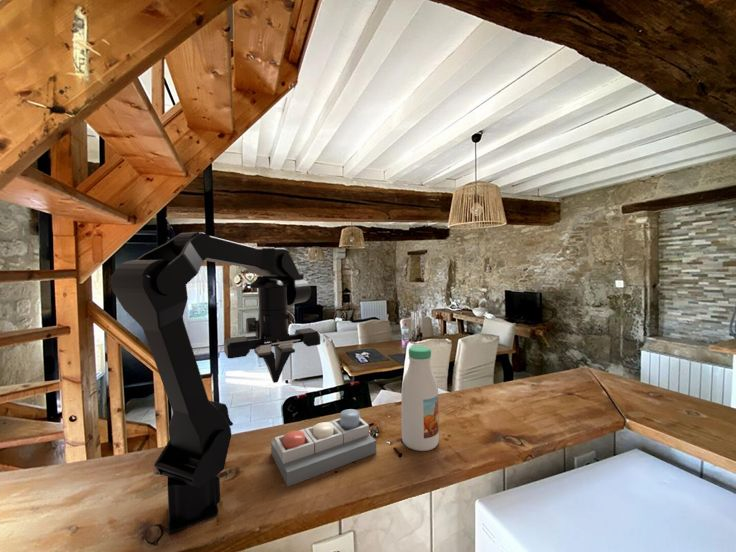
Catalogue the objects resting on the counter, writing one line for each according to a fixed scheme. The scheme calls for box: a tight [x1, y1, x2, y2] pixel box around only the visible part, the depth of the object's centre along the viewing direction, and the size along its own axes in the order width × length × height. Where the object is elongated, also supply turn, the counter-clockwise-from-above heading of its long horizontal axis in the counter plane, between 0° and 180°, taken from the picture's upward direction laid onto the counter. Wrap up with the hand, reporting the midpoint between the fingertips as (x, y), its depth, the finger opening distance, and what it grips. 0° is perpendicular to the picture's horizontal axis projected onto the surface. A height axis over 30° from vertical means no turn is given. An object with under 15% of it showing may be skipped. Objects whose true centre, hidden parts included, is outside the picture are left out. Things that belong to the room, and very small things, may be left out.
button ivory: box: [313, 421, 334, 440], centre depth 63 cm, size 4×4×2 cm
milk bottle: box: [401, 345, 440, 452], centre depth 66 cm, size 8×8×20 cm
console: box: [270, 417, 377, 487], centre depth 63 cm, size 18×11×4 cm, turn 121°
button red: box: [283, 430, 305, 450], centre depth 60 cm, size 4×4×2 cm
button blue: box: [339, 408, 361, 430], centre depth 66 cm, size 4×4×2 cm
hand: (275, 381), depth 67 cm, fingers closed
